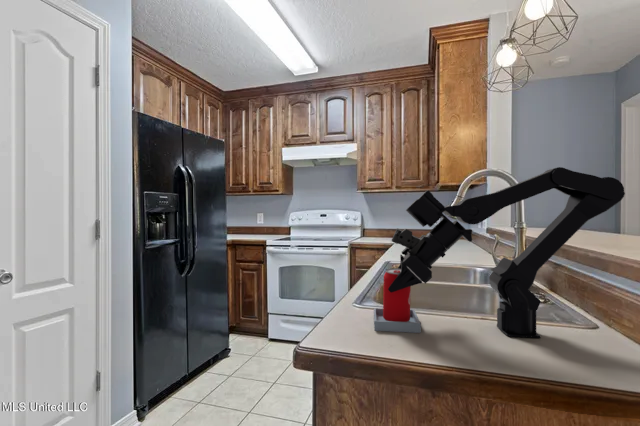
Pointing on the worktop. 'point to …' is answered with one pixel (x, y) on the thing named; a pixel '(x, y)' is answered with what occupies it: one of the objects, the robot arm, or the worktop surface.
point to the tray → (396, 323)
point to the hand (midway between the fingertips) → (389, 287)
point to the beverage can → (395, 299)
